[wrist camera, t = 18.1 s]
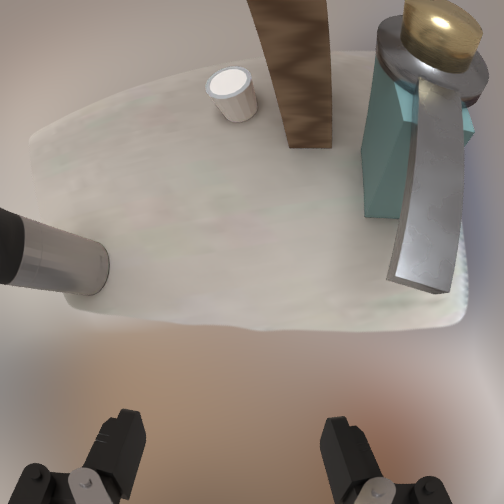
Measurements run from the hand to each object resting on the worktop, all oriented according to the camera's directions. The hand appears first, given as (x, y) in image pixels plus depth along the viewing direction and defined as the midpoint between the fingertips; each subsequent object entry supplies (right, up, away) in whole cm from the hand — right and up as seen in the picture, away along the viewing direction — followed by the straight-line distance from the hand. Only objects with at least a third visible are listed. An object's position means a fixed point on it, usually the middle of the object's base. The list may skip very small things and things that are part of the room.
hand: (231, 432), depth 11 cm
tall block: (+18, +17, +25) cm, 35 cm away
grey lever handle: (+13, +16, +4) cm, 21 cm away
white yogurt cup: (-1, +30, +32) cm, 44 cm away
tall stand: (+9, +28, +29) cm, 41 cm away
